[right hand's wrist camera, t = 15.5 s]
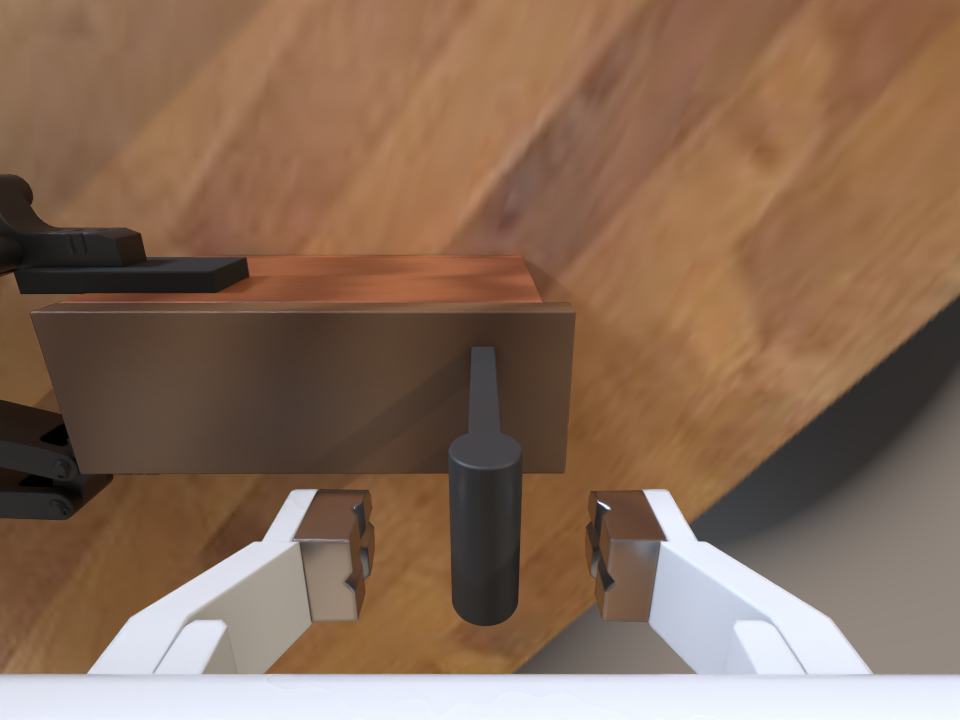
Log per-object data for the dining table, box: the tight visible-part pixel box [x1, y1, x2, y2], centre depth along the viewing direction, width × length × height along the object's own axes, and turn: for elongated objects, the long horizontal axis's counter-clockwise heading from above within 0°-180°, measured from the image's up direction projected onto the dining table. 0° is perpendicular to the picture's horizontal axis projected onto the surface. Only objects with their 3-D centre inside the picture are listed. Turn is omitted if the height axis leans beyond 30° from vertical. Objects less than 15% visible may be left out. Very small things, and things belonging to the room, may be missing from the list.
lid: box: [30, 302, 576, 626], centre depth 14 cm, size 16×6×8 cm, turn 90°
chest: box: [59, 255, 543, 303], centre depth 21 cm, size 15×6×9 cm, turn 90°
